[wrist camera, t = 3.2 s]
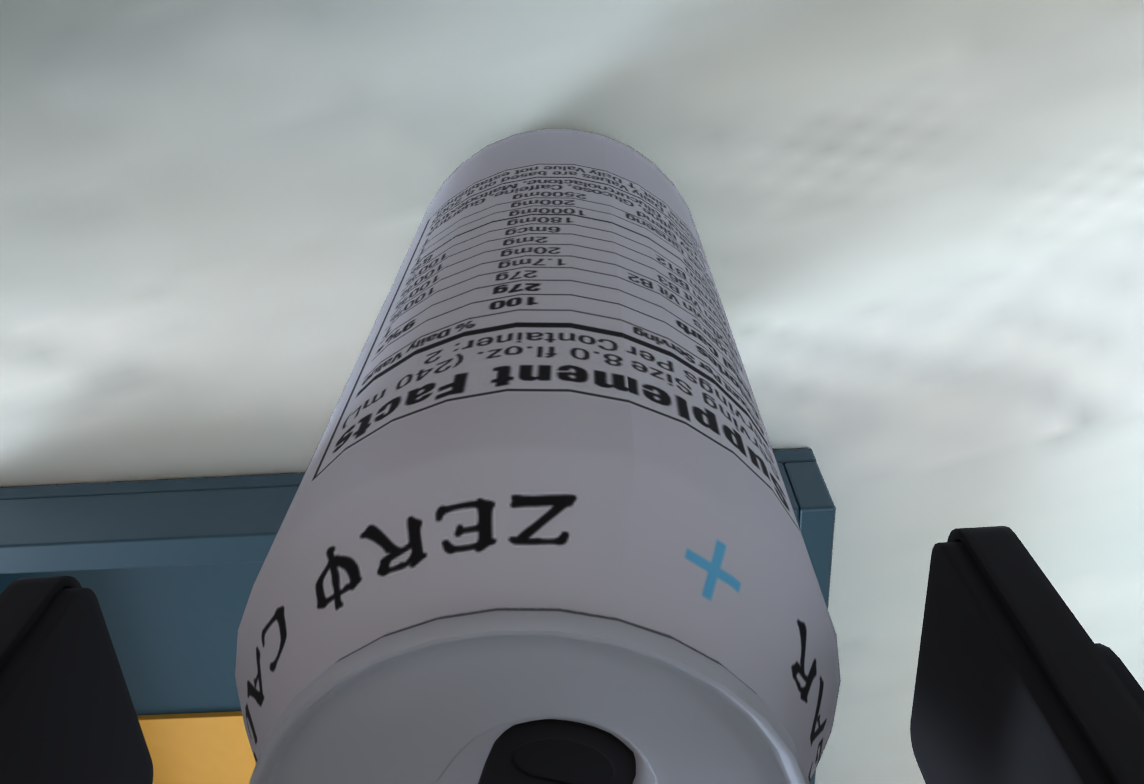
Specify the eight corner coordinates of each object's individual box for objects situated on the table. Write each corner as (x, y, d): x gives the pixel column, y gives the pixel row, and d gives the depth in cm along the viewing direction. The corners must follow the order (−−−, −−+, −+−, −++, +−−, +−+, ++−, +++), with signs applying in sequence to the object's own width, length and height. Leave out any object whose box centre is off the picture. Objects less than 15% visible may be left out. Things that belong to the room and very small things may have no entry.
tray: (811, 447, 24) (836, 507, 22) (785, 873, 31) (802, 953, 29) (-60, 489, 25) (-126, 552, 22) (111, 897, 32) (74, 977, 29)
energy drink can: (395, 338, 23) (135, 990, 9) (460, 79, 20) (226, 470, 7) (643, 407, 23) (732, 1099, 10) (737, 167, 21) (1025, 674, 7)
